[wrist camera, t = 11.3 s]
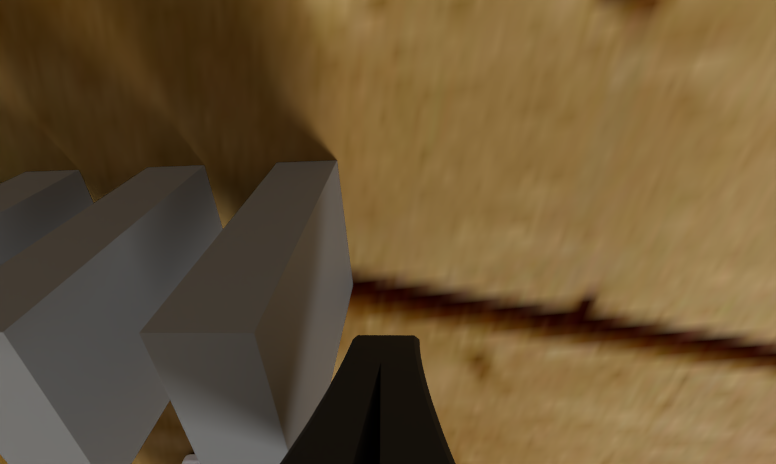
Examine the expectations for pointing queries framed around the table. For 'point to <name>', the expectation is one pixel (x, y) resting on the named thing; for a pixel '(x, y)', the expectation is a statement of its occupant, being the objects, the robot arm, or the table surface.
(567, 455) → the table surface
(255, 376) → the gray domino
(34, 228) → the grey domino block
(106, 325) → the gray domino
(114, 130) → the table surface
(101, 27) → the table surface
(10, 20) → the table surface
